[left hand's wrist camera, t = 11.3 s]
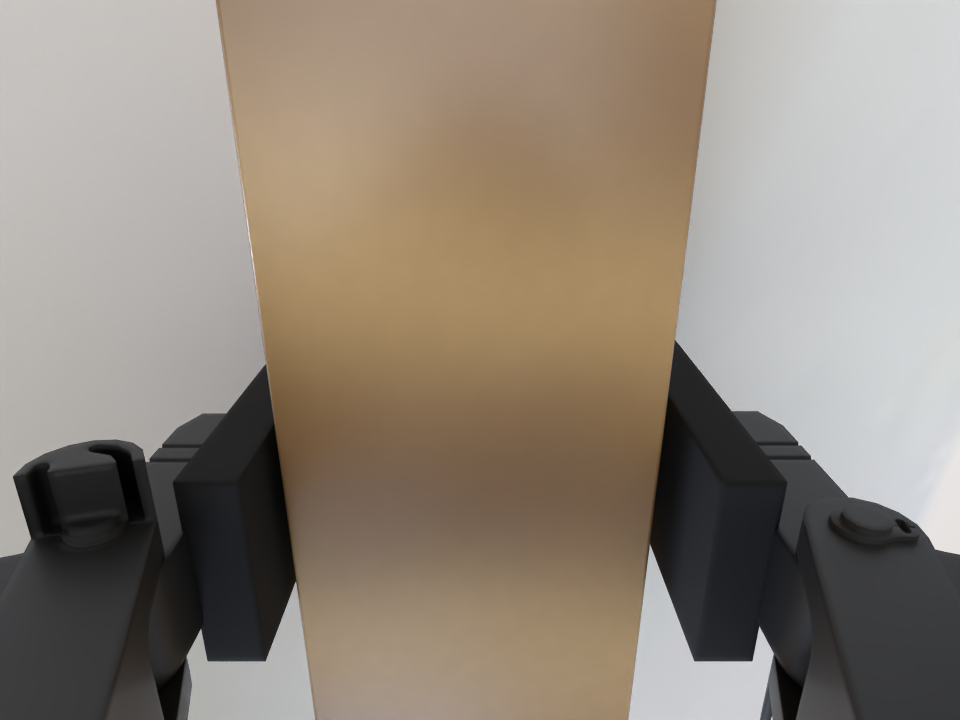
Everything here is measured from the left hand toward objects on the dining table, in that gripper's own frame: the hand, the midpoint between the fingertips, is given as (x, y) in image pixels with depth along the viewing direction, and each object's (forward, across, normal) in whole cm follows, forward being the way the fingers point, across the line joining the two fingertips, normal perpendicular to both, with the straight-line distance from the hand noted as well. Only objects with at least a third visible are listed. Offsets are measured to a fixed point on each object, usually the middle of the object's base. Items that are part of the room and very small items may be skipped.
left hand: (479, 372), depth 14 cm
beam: (+2, 0, -25) cm, 25 cm away
